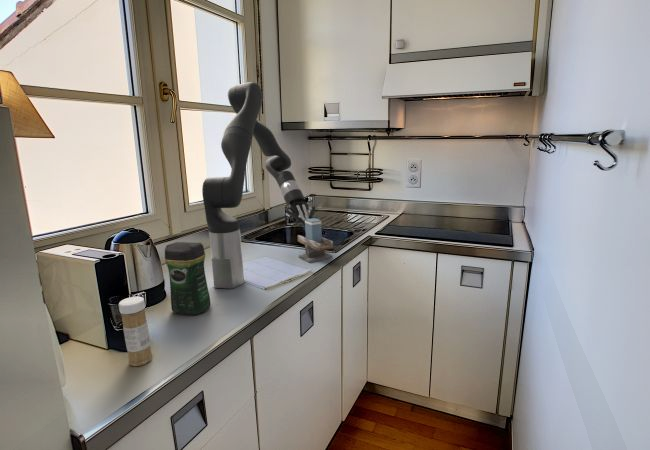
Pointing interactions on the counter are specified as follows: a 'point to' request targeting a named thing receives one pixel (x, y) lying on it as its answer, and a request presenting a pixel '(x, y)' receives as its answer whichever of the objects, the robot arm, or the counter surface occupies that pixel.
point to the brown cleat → (315, 249)
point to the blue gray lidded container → (313, 229)
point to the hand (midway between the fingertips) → (309, 230)
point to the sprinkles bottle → (135, 330)
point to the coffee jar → (187, 278)
